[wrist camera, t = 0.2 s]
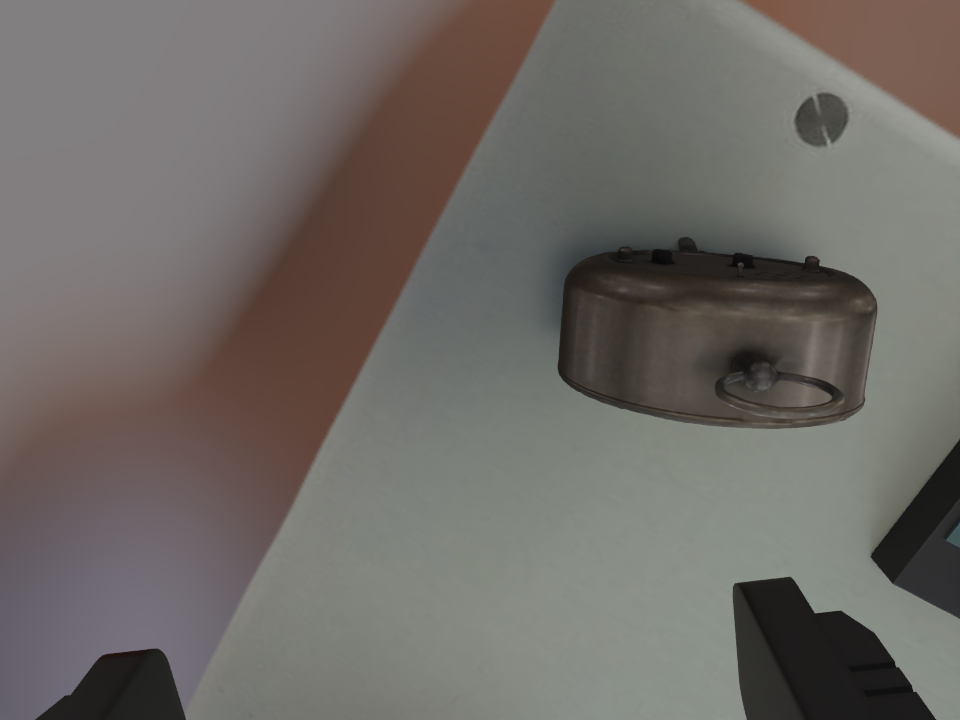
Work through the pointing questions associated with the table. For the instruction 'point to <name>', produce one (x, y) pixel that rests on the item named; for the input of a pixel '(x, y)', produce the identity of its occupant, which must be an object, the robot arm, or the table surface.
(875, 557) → the scale
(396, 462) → the table surface
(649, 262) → the alarm clock
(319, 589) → the table surface
